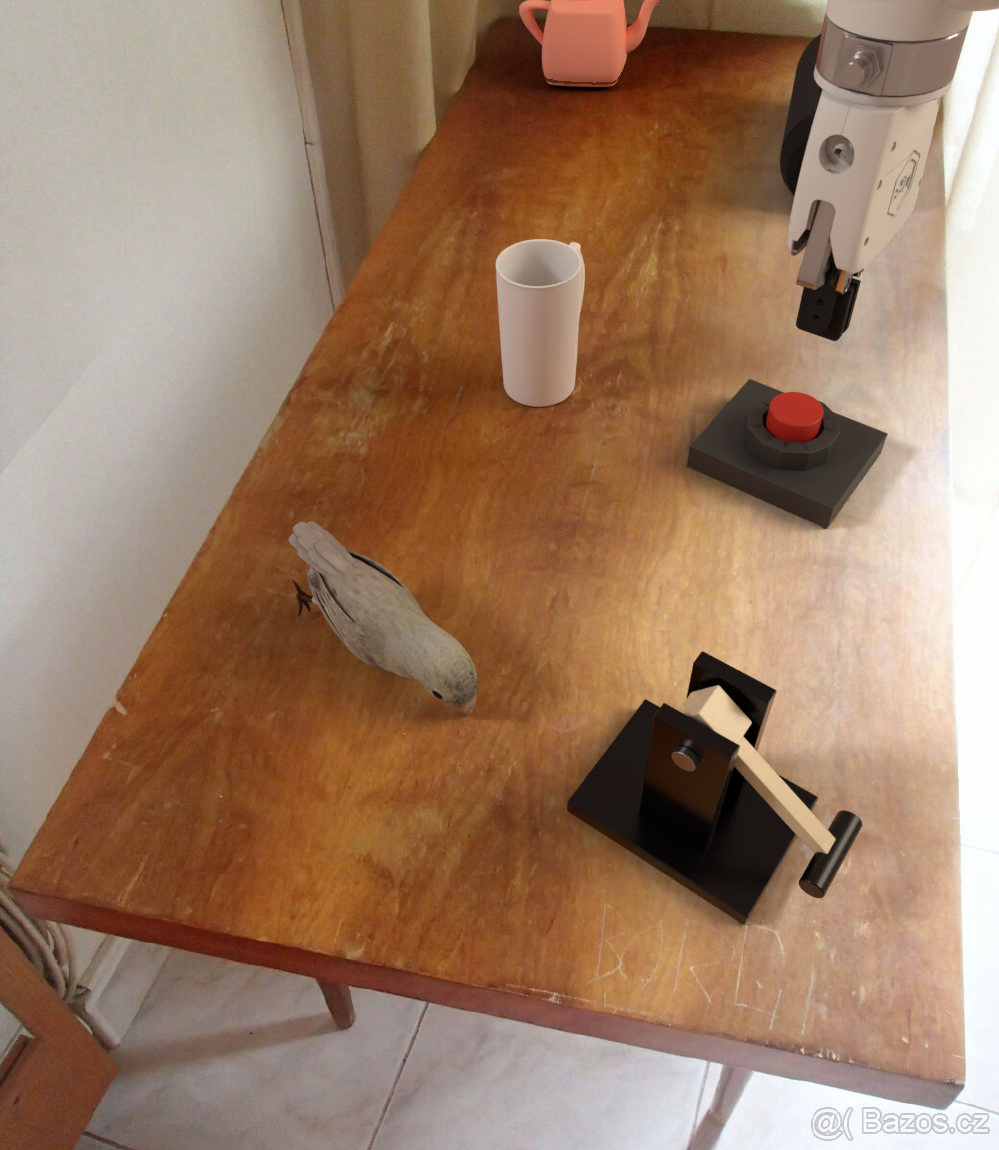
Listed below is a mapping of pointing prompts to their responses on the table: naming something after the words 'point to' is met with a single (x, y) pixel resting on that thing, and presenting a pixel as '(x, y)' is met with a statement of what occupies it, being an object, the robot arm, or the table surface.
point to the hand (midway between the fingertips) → (821, 329)
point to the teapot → (585, 38)
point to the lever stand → (692, 796)
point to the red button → (794, 417)
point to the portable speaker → (800, 116)
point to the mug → (539, 319)
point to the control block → (786, 456)
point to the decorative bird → (382, 619)
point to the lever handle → (778, 791)
